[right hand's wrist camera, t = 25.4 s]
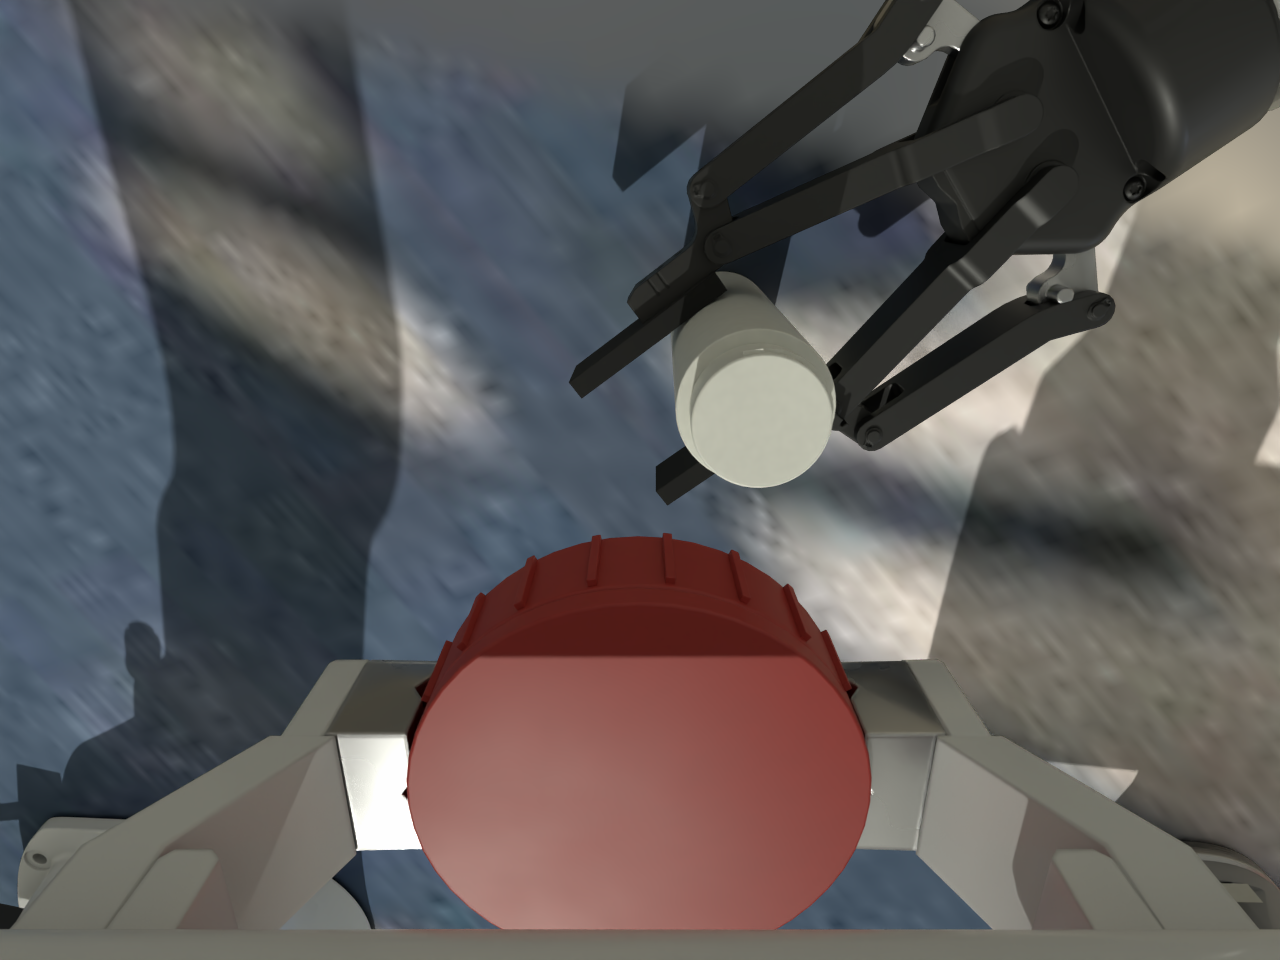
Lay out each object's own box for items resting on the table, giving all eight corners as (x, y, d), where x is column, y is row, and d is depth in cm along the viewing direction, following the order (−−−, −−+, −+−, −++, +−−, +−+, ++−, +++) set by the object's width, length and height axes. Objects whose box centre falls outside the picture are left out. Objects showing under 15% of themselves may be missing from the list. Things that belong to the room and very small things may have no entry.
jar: (775, 363, 35) (852, 489, 21) (677, 378, 35) (688, 512, 21) (765, 263, 33) (842, 325, 19) (663, 280, 34) (664, 353, 20)
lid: (351, 682, 10) (298, 772, 9) (680, 444, 9) (688, 499, 7) (608, 915, 12) (602, 1025, 10) (916, 741, 10) (964, 837, 9)
